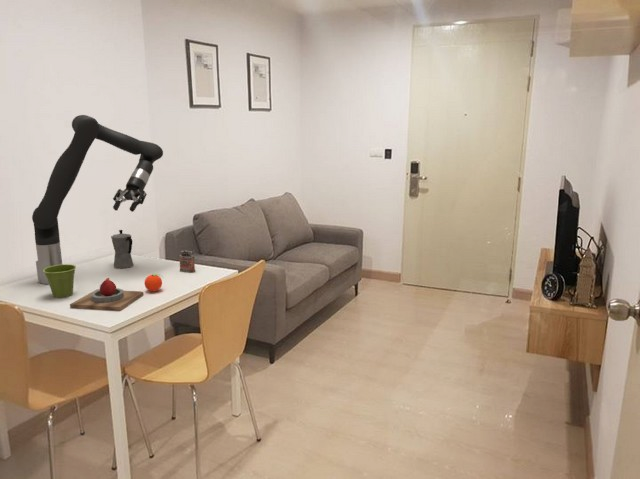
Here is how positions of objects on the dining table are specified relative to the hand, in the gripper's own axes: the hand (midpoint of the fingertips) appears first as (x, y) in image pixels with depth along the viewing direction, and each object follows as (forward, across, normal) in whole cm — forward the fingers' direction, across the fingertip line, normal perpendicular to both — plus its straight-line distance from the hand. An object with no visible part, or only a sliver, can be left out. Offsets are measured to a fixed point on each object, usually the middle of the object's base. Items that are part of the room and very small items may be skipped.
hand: (123, 210), depth 220 cm
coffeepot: (+12, -14, +32) cm, 37 cm away
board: (+42, +13, +1) cm, 44 cm away
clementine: (+30, +23, +14) cm, 40 cm away
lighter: (+10, +20, +34) cm, 40 cm away
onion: (+41, +14, +1) cm, 43 cm away
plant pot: (+42, -9, +2) cm, 43 cm away
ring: (+41, +13, 0) cm, 43 cm away
